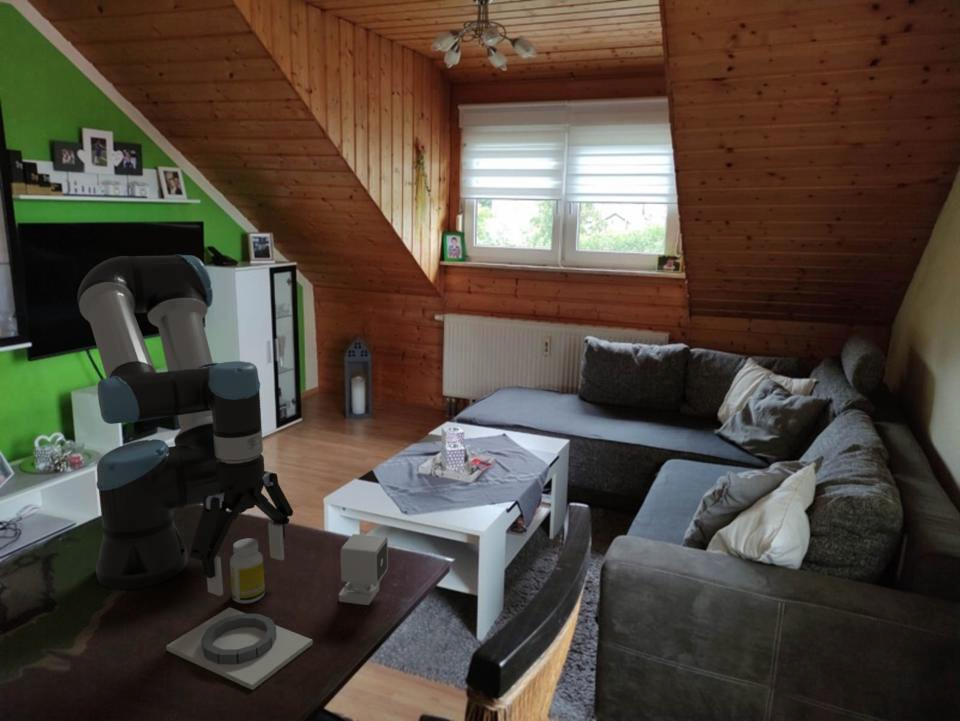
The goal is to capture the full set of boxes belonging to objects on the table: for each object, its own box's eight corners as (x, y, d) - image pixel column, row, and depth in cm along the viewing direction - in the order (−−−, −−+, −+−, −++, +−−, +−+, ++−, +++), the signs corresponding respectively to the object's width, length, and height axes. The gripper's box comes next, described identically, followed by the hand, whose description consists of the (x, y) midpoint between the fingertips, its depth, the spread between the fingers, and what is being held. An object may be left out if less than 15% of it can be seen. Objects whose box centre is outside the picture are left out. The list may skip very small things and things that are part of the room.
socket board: (166, 650, 104) (165, 636, 104) (229, 611, 115) (228, 598, 114) (252, 690, 96) (251, 674, 95) (312, 644, 106) (311, 630, 106)
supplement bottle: (272, 592, 121) (268, 540, 119) (249, 607, 116) (246, 553, 114) (248, 585, 123) (244, 533, 121) (225, 600, 118) (221, 546, 116)
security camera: (376, 607, 116) (375, 552, 114) (337, 602, 118) (335, 548, 115) (388, 588, 122) (387, 535, 120) (351, 583, 124) (349, 531, 122)
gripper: (191, 484, 102) (202, 616, 106) (309, 439, 123) (315, 550, 127) (157, 475, 105) (170, 603, 109) (278, 433, 127) (284, 541, 131)
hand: (248, 575), depth 118 cm, fingers open, 13 cm apart
